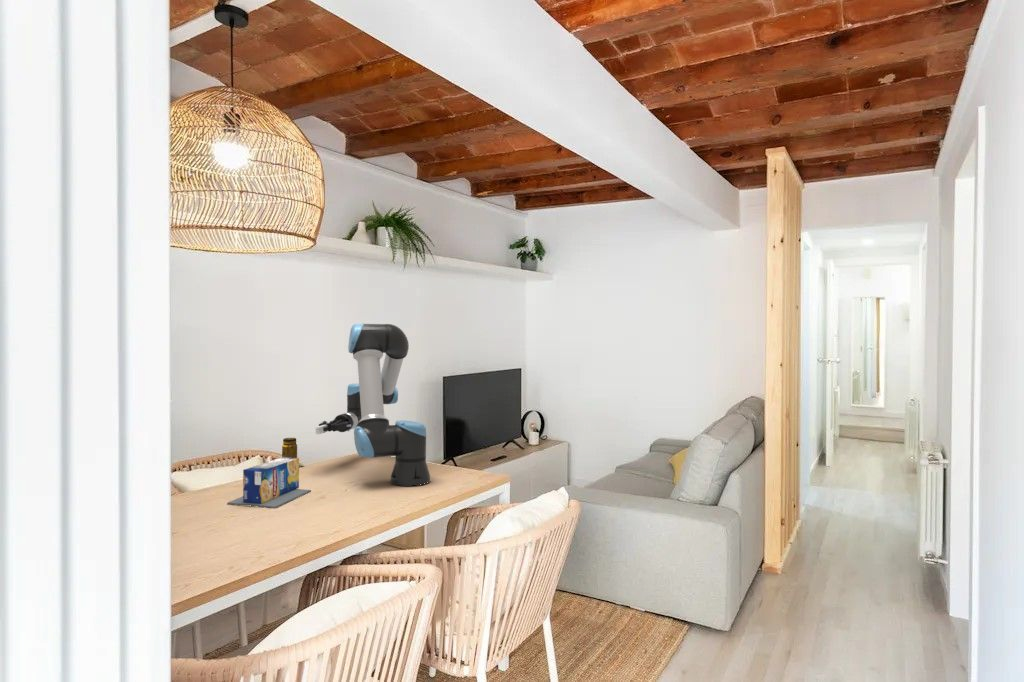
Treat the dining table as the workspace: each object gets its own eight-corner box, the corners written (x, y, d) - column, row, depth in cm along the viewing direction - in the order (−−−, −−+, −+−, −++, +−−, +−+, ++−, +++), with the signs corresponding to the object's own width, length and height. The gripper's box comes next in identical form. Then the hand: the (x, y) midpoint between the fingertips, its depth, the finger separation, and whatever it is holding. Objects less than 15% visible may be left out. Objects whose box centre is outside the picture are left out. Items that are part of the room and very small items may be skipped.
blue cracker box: (299, 457, 234) (261, 470, 212) (298, 487, 234) (261, 503, 213) (282, 456, 235) (243, 469, 214) (282, 486, 236) (243, 502, 214)
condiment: (278, 466, 272) (278, 438, 272) (298, 463, 277) (298, 436, 277) (284, 469, 266) (285, 440, 266) (304, 466, 272) (305, 438, 271)
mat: (310, 491, 231) (310, 489, 231) (275, 508, 210) (275, 506, 210) (266, 488, 235) (266, 486, 235) (227, 504, 214) (227, 502, 214)
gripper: (359, 431, 274) (332, 440, 251) (331, 430, 277) (302, 439, 254) (359, 414, 274) (332, 421, 251) (331, 412, 277) (302, 420, 254)
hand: (317, 430), depth 253 cm, fingers closed
